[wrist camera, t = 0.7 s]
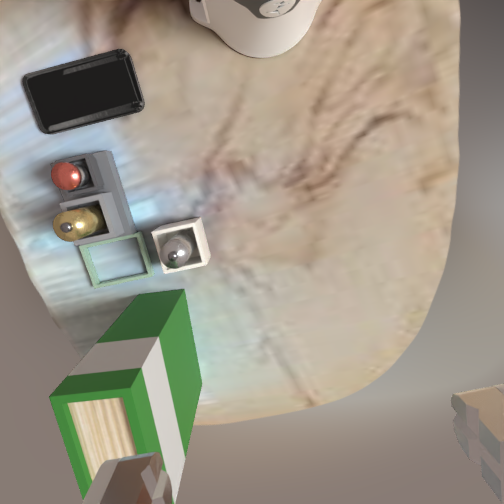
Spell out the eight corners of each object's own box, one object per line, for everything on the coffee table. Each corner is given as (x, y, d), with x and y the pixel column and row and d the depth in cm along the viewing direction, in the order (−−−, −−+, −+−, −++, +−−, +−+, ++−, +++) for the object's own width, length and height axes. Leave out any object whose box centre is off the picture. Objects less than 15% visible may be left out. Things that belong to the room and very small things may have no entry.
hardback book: (202, 383, 56) (168, 535, 33) (160, 388, 57) (97, 541, 33) (184, 288, 52) (130, 387, 29) (138, 294, 52) (49, 396, 29)
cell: (81, 207, 47) (45, 216, 38) (106, 202, 46) (74, 209, 38) (90, 231, 47) (56, 245, 39) (114, 226, 47) (84, 239, 39)
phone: (145, 109, 44) (42, 135, 45) (147, 110, 46) (47, 136, 46) (126, 45, 43) (19, 74, 43) (129, 48, 44) (24, 77, 44)
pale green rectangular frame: (82, 244, 50) (78, 246, 49) (141, 231, 50) (138, 232, 48) (97, 286, 52) (94, 288, 51) (154, 273, 51) (152, 276, 50)
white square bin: (161, 225, 49) (151, 232, 44) (200, 216, 49) (195, 222, 44) (172, 263, 51) (164, 274, 46) (210, 255, 51) (206, 265, 46)
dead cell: (171, 232, 49) (154, 246, 41) (194, 227, 49) (182, 240, 41) (177, 255, 50) (162, 272, 42) (200, 250, 50) (189, 267, 41)
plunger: (61, 165, 44) (47, 165, 40) (86, 160, 43) (72, 159, 40) (70, 190, 45) (57, 192, 41) (94, 185, 44) (82, 186, 41)
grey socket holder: (58, 163, 47) (36, 163, 42) (111, 151, 47) (95, 149, 42) (86, 242, 50) (69, 250, 45) (136, 231, 50) (124, 238, 45)
